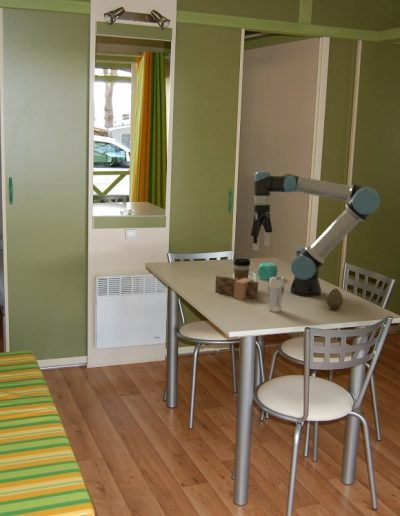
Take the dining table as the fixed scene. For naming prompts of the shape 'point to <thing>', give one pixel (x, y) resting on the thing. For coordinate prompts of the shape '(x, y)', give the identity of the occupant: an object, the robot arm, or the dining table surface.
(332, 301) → the decorative egg
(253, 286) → the slotted board
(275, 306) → the beer glass
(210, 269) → the dining table surface
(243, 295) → the notched block
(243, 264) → the coffee cup
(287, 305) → the dining table surface
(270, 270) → the decorative dice
